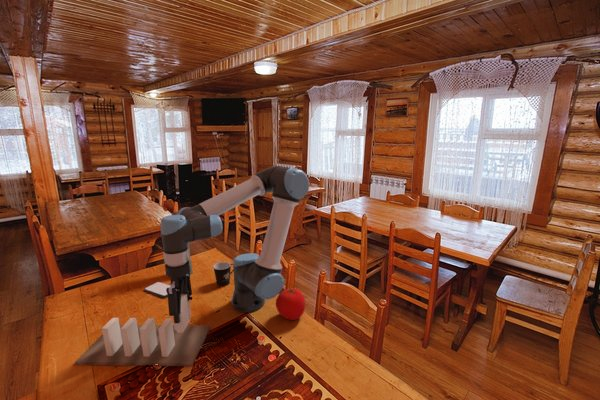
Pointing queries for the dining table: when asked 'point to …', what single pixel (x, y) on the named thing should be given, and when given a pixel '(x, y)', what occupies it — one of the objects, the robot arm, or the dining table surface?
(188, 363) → the walnut board
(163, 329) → the domino
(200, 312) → the dining table surface
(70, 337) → the dining table surface
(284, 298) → the tomato
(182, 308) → the loose domino
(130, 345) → the domino
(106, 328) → the domino
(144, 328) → the domino
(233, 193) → the robot arm
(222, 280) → the coffee mug
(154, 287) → the phone case
